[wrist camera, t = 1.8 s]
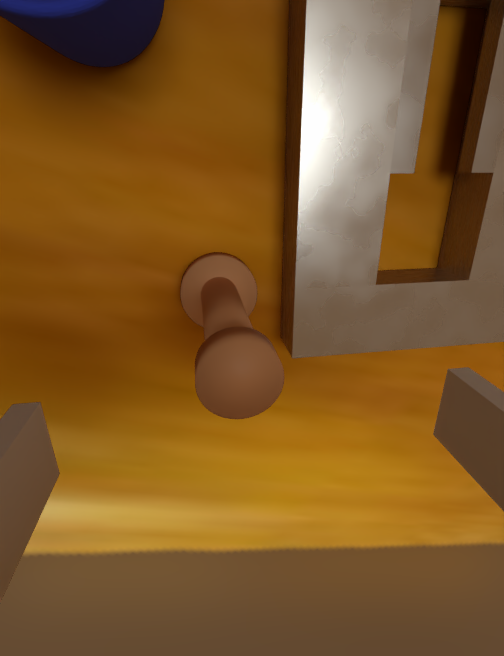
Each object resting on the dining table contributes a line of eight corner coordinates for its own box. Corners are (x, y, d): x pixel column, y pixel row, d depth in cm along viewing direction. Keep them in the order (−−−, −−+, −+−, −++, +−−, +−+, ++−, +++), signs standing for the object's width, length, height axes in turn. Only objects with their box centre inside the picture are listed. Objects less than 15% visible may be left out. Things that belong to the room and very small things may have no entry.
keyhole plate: (485, 322, 30) (519, 340, 27) (280, 337, 27) (292, 358, 24) (602, -128, 20) (679, -184, 17) (293, -166, 17) (316, -240, 14)
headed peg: (184, 324, 26) (179, 441, 15) (177, 253, 24) (167, 325, 13) (254, 320, 27) (301, 428, 15) (253, 250, 25) (307, 316, 13)
